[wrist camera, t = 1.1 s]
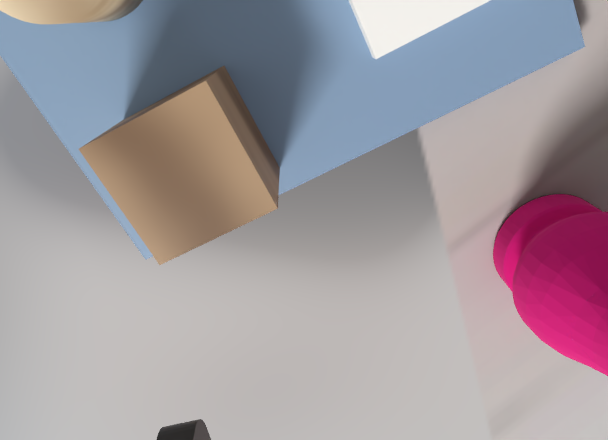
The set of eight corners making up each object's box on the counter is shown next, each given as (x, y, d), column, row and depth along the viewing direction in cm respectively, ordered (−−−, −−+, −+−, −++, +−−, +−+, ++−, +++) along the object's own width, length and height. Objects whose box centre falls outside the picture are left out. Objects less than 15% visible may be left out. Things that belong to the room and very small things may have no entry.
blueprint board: (461, -367, 18) (483, -415, 16) (571, 45, 24) (597, 48, 22) (-52, -40, 22) (-87, -46, 20) (151, 249, 27) (140, 268, 25)
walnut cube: (224, 65, 23) (206, 80, 18) (279, 167, 25) (277, 208, 20) (123, 119, 23) (78, 149, 18) (185, 214, 25) (159, 265, 20)
